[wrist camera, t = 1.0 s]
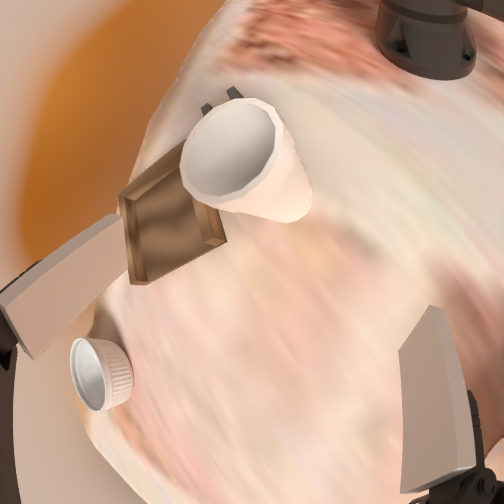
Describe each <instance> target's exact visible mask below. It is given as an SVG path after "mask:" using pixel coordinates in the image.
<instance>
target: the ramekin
mask: <svg viewBox="0 0 504 504" xmlns="http://www.w3.org/2000/svg"><path fill="white" fill-rule="evenodd" d="M70 368H71V374H72V379H73V382H74V385H75V387H76V390H77V393H78V395H79V397H80V398H81V400H82V401H83V403H84V404H85V405H86V406H87V407H88V408H89V409H90V410H91V411H93V412H103V411H106V410H107V409H108V408H111V407H114V406H116V405H119V404H121V403H123V402H125V401H126V400H127V399H128V398H129V397H130V395H131V393H132V390H133V386H134V377H133V371H132V367H131V364H130V361H129V359H128V357H127V355H126V354H125V352H124V351H123V349H122V348H121V347H119V346H118V345H117V344H116V343H114V342H112V341H109V340H103V339H91V338H89V337H79V338H77V339H76V340H75V341H74V343H73V345H72V348H71V352H70Z"/></svg>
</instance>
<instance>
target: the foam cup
mask: <svg viewBox="0 0 504 504" xmlns="http://www.w3.org/2000/svg"><path fill="white" fill-rule="evenodd" d="M294 145H295V140H294V138H293V136H292V134H291V133H290V131H289V129H288V127H287V125H286V123H285V121H284V120H283V119H282V117H281V116H280V115H279V113H278V112H277V111H276V109H275V108H274V107H273V106H271V105H269V104H267V103H265V102H263V101H261V100H259V99H257V98H238V99H232V100H230V101H228V102H226V103H223V104H221V105H219V106H217V107H215V108H213V109H212V110H211V111H210V112H208V113H207V114H206V115H205V116H204V117H203V118H202V119H201V120H200V121H199V122H198V123H197V124H196V125H195V126H194V128H193V130H192V131H191V133H190V135H189V136H188V138H187V140H186V142H185V143H184V146H183V151H182V155H181V160H180V165H179V167H180V172H181V177H182V182H183V186H184V187H185V188H186V189H187V191H188V192H189V193H190V194H191V195H192V196H193V197H194V198H195V199H196V200H197V201H199V202H201V203H204V204H206V205H208V206H210V207H213V208H216V209H220V210H224V211H228V212H233V213H236V212H242V213H246V214H250V215H254V216H258V217H262V218H265V219H269V220H273V221H277V222H281V223H289V222H293V221H297V220H298V219H300V218H301V217H302V216H304V215H305V214H306V213H307V212H308V210H309V208H310V206H311V204H312V202H313V188H312V185H311V183H310V180H309V178H308V176H307V173H306V171H305V169H304V166H303V164H302V162H301V159H300V157H299V155H298V153H297V151H296V148H295V146H294Z"/></svg>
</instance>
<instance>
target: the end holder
mask: <svg viewBox="0 0 504 504" xmlns="http://www.w3.org/2000/svg"><path fill="white" fill-rule="evenodd" d="M186 140H187V139H185V140H184V141H182V142H181V143H180V144H178V145H177V146H176V147H175V148H173V149H172V150H171V151H169V152H168V153H167V154H166V155H164V156H163V157H162V158H160V159H159V160H158V161H157V162H156V163H154V164H153V165H152V166H151V167H149V168H148V169H147V170H146V171H145V172H143V173H142V174H141V175H140V176H139V177H138V178H136V179H135V180H134V181H133V182H132V183H131V184H130V185H128V186H127V187H126V188H125V189H124V190H123V191H122V192H121V193H120V194H119V206H120V216H122V217H123V222H124V234H125V244H126V253H127V262H128V273H129V279H130V284H131V285H147V284H149V283H151V282H153V281H155V280H156V279H158V278H160V277H162V276H164V275H166V274H167V273H169V272H171V271H173V270H175V269H177V268H179V267H180V266H182V265H184V264H186V263H188V262H190V261H192V260H194V259H195V258H197V257H199V256H201V255H203V254H205V253H207V252H209V251H211V250H212V249H214V248H216V247H218V246H220V245H222V244H224V243H226V242H227V239H226V236H225V233H224V229H223V226H222V223H221V219H220V216H219V213H218V209H216V208H213V207H210V206H208V205H206V204H204V203H201V202H199V201H197V200H196V199H195V198H194V197H193V196H192V195H191V194H190V193H189V192H188V191H187V189H186V188H185V187H184V186H183V182H182V177H181V172H180V167H179V165H180V160H181V155H182V151H183V146H184V143H185V142H186Z"/></svg>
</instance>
